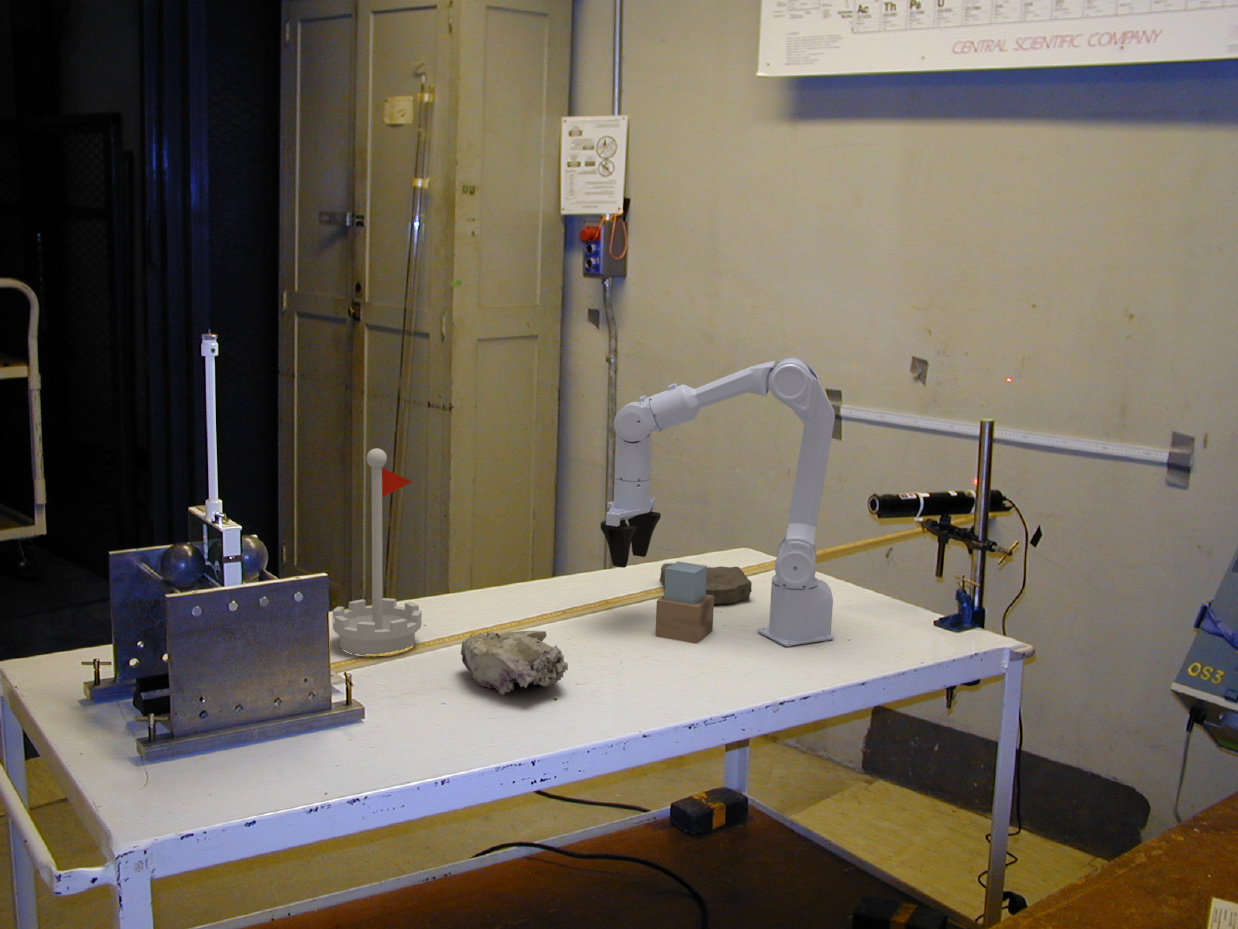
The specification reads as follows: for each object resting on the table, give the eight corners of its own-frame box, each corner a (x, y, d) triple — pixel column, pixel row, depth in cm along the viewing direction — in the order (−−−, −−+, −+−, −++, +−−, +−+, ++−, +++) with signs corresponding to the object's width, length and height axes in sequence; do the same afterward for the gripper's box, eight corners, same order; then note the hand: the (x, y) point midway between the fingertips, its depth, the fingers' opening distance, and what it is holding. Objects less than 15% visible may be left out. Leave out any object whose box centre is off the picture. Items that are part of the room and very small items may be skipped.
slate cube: (676, 591, 192) (677, 561, 191) (705, 596, 189) (707, 565, 189) (664, 599, 187) (665, 568, 186) (693, 604, 185) (694, 573, 184)
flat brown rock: (659, 581, 219) (660, 559, 219) (738, 583, 221) (739, 561, 220) (669, 608, 203) (671, 585, 202) (755, 610, 204) (756, 586, 203)
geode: (501, 695, 175) (440, 710, 162) (489, 632, 176) (427, 641, 163) (599, 675, 167) (543, 689, 154) (586, 609, 169) (528, 617, 156)
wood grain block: (671, 625, 194) (673, 589, 193) (712, 631, 191) (714, 595, 190) (655, 637, 187) (656, 600, 186) (696, 644, 185) (698, 607, 184)
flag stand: (337, 663, 171) (335, 457, 166) (329, 634, 183) (326, 442, 178) (428, 655, 175) (429, 455, 170) (413, 628, 187) (414, 440, 182)
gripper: (629, 468, 197) (626, 548, 200) (589, 482, 184) (587, 567, 187) (668, 473, 194) (664, 553, 197) (630, 488, 181) (627, 574, 184)
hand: (629, 561), depth 192 cm, fingers open, 7 cm apart
